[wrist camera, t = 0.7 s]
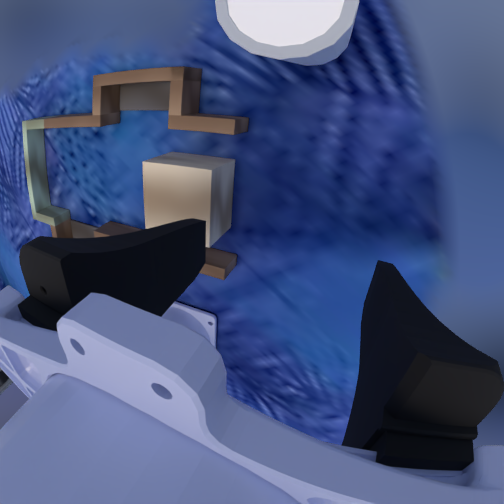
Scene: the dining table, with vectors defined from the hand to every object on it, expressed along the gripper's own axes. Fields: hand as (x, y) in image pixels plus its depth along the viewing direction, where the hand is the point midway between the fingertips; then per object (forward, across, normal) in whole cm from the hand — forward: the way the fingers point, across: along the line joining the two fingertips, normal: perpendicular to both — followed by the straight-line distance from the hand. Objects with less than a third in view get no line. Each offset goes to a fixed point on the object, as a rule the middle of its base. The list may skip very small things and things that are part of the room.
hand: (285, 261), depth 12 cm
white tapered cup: (+11, +2, -12) cm, 16 cm away
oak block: (+10, +9, +1) cm, 14 cm away
